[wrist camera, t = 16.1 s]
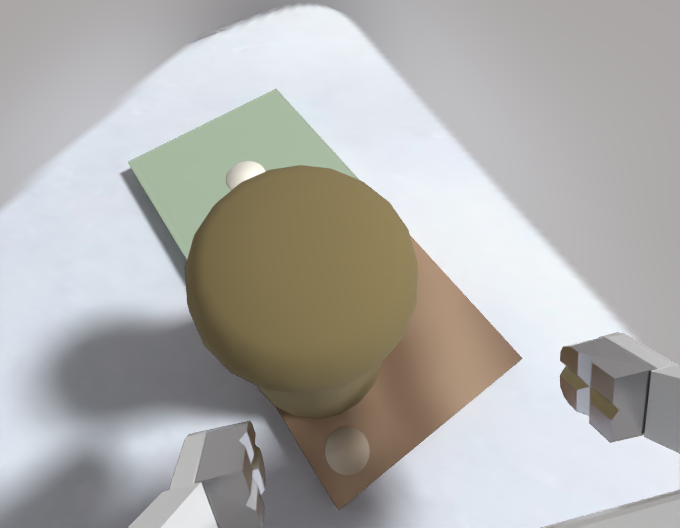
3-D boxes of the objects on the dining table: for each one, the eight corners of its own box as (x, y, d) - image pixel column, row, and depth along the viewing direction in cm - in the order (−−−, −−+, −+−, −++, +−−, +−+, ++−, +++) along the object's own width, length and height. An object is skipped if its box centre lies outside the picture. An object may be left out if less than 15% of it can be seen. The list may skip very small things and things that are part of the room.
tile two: (339, 507, 16) (338, 510, 15) (222, 316, 20) (216, 309, 19) (514, 363, 19) (522, 358, 18) (381, 216, 22) (383, 205, 21)
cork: (334, 449, 16) (344, 496, 6) (219, 365, 18) (65, 286, 7) (408, 328, 18) (509, 210, 8) (300, 259, 19) (268, 78, 9)
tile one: (213, 300, 20) (206, 293, 19) (135, 173, 24) (127, 161, 23) (370, 203, 23) (371, 193, 22) (278, 101, 26) (275, 87, 25)
